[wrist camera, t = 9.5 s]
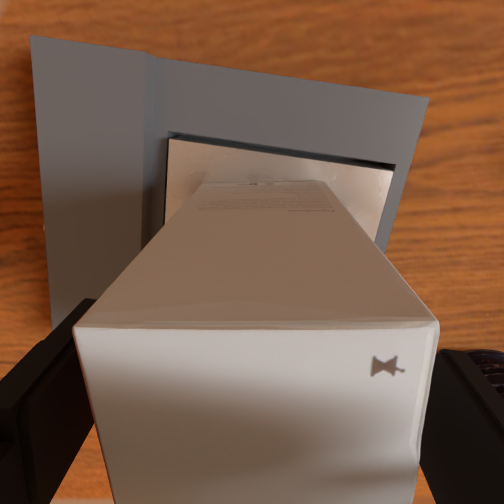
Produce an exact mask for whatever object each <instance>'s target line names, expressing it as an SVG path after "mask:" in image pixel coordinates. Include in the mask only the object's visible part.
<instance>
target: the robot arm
mask: <svg viewBox="0 0 504 504" xmlns="http://www.w3.org/2000/svg"><path fill="white" fill-rule="evenodd" d="M97 300H98V299H91V298H85V299H83V300H82V301H81V302H80V303H79V304H78V305H77V306H76V307H75V308H74V310H73V311H72V312H71V313H70V314H69V315H68V316H67V317H66V318H65V319H64V320H63V321H62V322H61V323H60V324H59V325H58V326H57V327H56V328H55V329H54V330H53V331H52V332H51V333H50V334H49V335H48V336H47V337H46V338H45V339H44V340H42V341H40V342H39V343H37V344H36V345H35V346H34V347H33V348H32V349H31V350H30V351H29V352H28V353H27V354H26V355H25V356H24V357H23V358H22V359H21V360H20V361H19V362H18V363H17V364H16V365H15V366H14V368H13V369H12V370H11V371H10V372H9V373H8V374H7V375H6V376H5V377H4V378H3V379H2V380H1V381H0V504H50V502H51V500H52V498H53V496H54V495H55V493H56V491H57V489H58V487H59V486H60V484H61V482H62V480H63V478H64V477H65V475H66V473H67V471H68V469H69V468H70V466H71V464H72V462H73V460H74V459H75V457H76V455H77V453H78V451H79V450H80V448H81V446H82V444H83V442H84V441H85V439H86V437H87V435H88V433H89V432H90V430H91V428H92V426H93V424H94V423H95V422H94V418H93V414H92V410H91V406H90V402H89V398H88V394H87V390H86V386H85V381H84V377H83V373H82V369H81V365H80V361H79V357H78V353H77V349H76V345H75V341H74V338H73V334H72V327H73V326H74V325H75V324H76V323H77V322H78V320H79V319H80V318H81V317H82V316H83V315H84V314H85V313H86V312H87V311H88V310H89V308H90V307H91V306H92V305H93V304H94V303H95V302H96V301H97ZM419 464H420V466H421V469H422V471H423V473H424V476H425V478H426V481H427V483H428V485H429V488H430V490H431V493H432V495H433V497H434V500H435V502H436V504H504V399H503V398H502V397H501V396H500V394H499V393H498V392H497V391H496V389H495V388H494V387H493V385H492V384H491V383H490V382H489V380H488V379H487V378H486V377H485V375H484V374H483V373H482V372H481V370H480V369H479V368H478V367H477V365H476V364H475V363H474V362H473V360H472V359H471V358H470V357H469V355H468V354H467V353H466V352H463V351H456V350H449V349H442V350H441V351H440V352H439V353H436V355H435V361H434V366H433V371H432V376H431V383H430V390H429V397H428V402H427V407H426V412H425V419H424V425H423V430H422V436H421V445H420V460H419Z"/></svg>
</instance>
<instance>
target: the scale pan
mask: <svg viewBox="0 0 504 504" xmlns="http://www.w3.org/2000/svg"><path fill="white" fill-rule="evenodd" d="M392 176H393V171H391V170H389V169H387V168H385V167H382V166H380V165H378V164H375V163H368V162H361V161H354V160H347V159H340V158H334V157H327V156H320V155H313V154H306V153H299V152H292V151H286V150H279V149H272V148H265V147H258V146H251V145H245V144H238V143H231V142H224V141H217V140H210V139H203V138H197V137H190V136H179V137H175V138H171V139H169V154H168V173H167V193H166V213H165V224H166V223H167V222H168V221H169V220H170V218H171V217H172V216H173V215H174V214H175V213H176V211H177V210H178V209H179V208H180V207H181V206H182V205H183V204H184V203H185V202H186V200H188V199H189V197H190V196H191V195H192V194H193V193H194V192H195V191H196V190H197V188H198V187H199V186H200V185H201V184H203V183H257V182H308V181H310V182H313V181H325V182H326V183H327V184H328V186H329V187H330V188H331V189H332V191H333V192H334V193H335V194H336V196H337V197H338V198H339V200H340V201H341V202H342V203H343V204H344V206H345V207H346V208H347V209H348V211H349V212H350V213H351V214H352V216H353V217H354V218H355V219H356V220H357V222H358V223H359V224H360V225H361V227H362V228H363V229H364V230H365V231H366V233H367V234H368V235H369V236H370V238H371V239H372V240H373V241H375V237H376V234H377V230H378V227H379V223H380V219H381V216H382V212H383V208H384V205H385V201H386V198H387V194H388V190H389V187H390V183H391V180H392Z"/></svg>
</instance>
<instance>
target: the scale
mask: <svg viewBox="0 0 504 504" xmlns="http://www.w3.org/2000/svg"><path fill="white" fill-rule="evenodd" d="M30 45H31V58H32V72H33V85H34V98H35V111H36V124H37V137H38V150H39V164H40V177H41V190H42V203H43V216H44V225H43V231H45V242H46V256H47V269H48V282H49V295H50V308H51V321H52V331H53V330H54V329H55V328H56V327H57V326H58V325H59V324H60V323H61V322H62V321H63V320H64V319H65V318H66V317H67V316H68V315H69V314H70V313H71V312H72V311H73V310H74V308H75V307H76V306H77V305H78V304H79V303H80V302H81V301H82V300H83V299H85V298H91V299H99V298H100V296H101V295H102V294H103V293H104V292H105V291H106V289H107V288H108V287H109V286H110V285H111V284H112V283H113V282H114V281H115V280H116V279H117V278H118V276H119V275H120V274H121V273H122V272H123V271H124V270H125V268H126V267H127V266H128V265H129V264H130V263H131V262H132V261H133V260H134V259H135V257H136V256H137V255H138V254H139V253H140V252H141V251H142V250H143V248H144V247H145V246H146V245H147V244H148V243H149V242H150V241H151V240H152V238H153V237H154V236H155V235H156V234H157V233H158V232H159V230H160V229H161V228H162V227H163V226H164V225H165V213H166V193H167V173H168V154H169V139H171V138H175V137H179V136H190V137H197V138H203V139H210V140H217V141H224V142H231V143H238V144H245V145H251V146H258V147H265V148H272V149H279V150H286V151H292V152H299V153H306V154H313V155H320V156H327V157H334V158H340V159H347V160H354V161H361V162H368V163H375V164H378V165H380V166H382V167H385V168H387V169H389V170H391V171H393V176H392V180H391V183H390V187H389V190H388V194H387V198H386V201H385V205H384V208H383V212H382V216H381V219H380V223H379V227H378V230H377V234H376V237H375V241H374V243H375V244H376V245H377V246H378V247H379V249H380V250H381V251H382V252H383V254H385V251H386V247H387V244H388V240H389V237H390V233H391V230H392V227H393V223H394V220H395V216H396V213H397V209H398V206H399V203H400V199H401V196H402V192H403V189H404V185H405V182H406V178H407V175H408V172H409V168H410V165H411V161H412V158H413V154H414V151H415V148H416V144H417V141H418V137H419V134H420V130H421V127H422V124H423V120H424V117H425V113H426V110H427V106H428V103H429V99H430V98H428V97H422V96H415V95H408V94H401V93H395V92H388V91H381V90H374V89H368V88H361V87H354V86H347V85H341V84H334V83H327V82H320V81H313V80H307V79H300V78H293V77H286V76H280V75H273V74H266V73H259V72H253V71H246V70H239V69H232V68H226V67H219V66H212V65H205V64H199V63H192V62H185V61H178V60H172V59H165V58H158V57H155V56H153V55H151V54H149V53H147V52H143V51H136V50H129V49H122V48H116V47H109V46H102V45H95V44H89V43H82V42H75V41H68V40H62V39H55V38H48V37H41V36H35V35H30Z"/></svg>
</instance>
